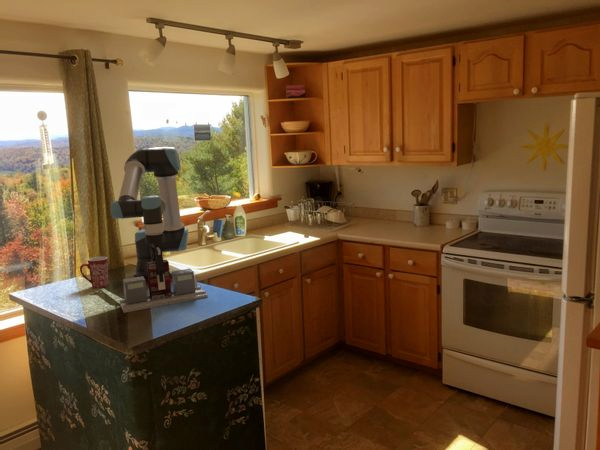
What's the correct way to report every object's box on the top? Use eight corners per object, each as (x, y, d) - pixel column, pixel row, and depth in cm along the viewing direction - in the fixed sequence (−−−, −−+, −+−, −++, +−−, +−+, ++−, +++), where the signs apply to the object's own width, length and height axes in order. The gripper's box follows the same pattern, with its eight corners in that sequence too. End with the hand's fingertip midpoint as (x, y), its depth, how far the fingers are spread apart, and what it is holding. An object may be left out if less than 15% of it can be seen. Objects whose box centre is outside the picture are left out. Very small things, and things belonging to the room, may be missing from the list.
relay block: (182, 288, 229) (181, 276, 228) (192, 286, 232) (191, 273, 231) (187, 291, 225) (185, 278, 224) (197, 288, 228) (196, 275, 227)
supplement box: (151, 301, 208) (147, 264, 205) (149, 298, 212) (145, 262, 209) (172, 297, 211) (168, 261, 209) (170, 295, 216) (166, 259, 213)
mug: (109, 282, 248) (105, 255, 246) (112, 286, 240) (108, 258, 238) (81, 286, 242) (77, 259, 240) (83, 291, 234) (79, 263, 232)
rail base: (119, 304, 211) (116, 278, 209) (199, 289, 225) (196, 265, 224) (123, 312, 199) (120, 285, 197) (207, 297, 214) (205, 271, 212)
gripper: (140, 231, 215) (146, 283, 218) (149, 238, 196) (155, 294, 200) (158, 229, 218) (163, 280, 222) (168, 235, 200) (174, 291, 203)
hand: (159, 286), depth 211 cm, fingers open, 8 cm apart
